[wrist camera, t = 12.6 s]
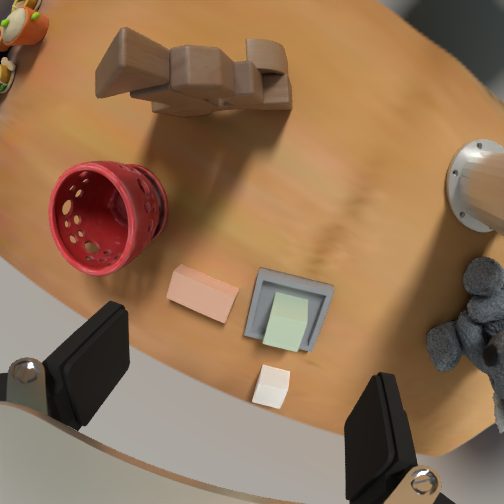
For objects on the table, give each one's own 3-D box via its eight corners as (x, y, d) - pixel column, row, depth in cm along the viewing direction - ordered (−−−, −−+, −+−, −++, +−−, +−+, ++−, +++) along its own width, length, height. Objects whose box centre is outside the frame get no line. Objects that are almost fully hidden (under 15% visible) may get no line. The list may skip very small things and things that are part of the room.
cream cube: (290, 371, 48) (287, 390, 43) (282, 389, 49) (279, 408, 45) (262, 364, 48) (258, 382, 44) (256, 383, 50) (251, 401, 45)
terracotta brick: (239, 288, 44) (235, 297, 42) (229, 312, 46) (224, 323, 43) (181, 262, 45) (173, 270, 42) (174, 288, 46) (166, 297, 44)
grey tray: (333, 285, 41) (334, 291, 40) (312, 343, 45) (312, 351, 43) (260, 267, 42) (258, 273, 40) (246, 327, 46) (244, 335, 44)
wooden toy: (289, 58, 33) (257, -56, 10) (292, 109, 35) (265, 53, 12) (170, 71, 35) (27, 23, 12) (171, 119, 38) (21, 112, 14)
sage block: (308, 299, 42) (307, 323, 37) (299, 326, 44) (297, 352, 38) (275, 291, 43) (270, 314, 37) (268, 319, 44) (262, 343, 39)
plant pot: (187, 239, 43) (147, 273, 32) (112, 250, 46) (64, 281, 35) (167, 144, 39) (117, 148, 28) (92, 167, 42) (36, 180, 31)
